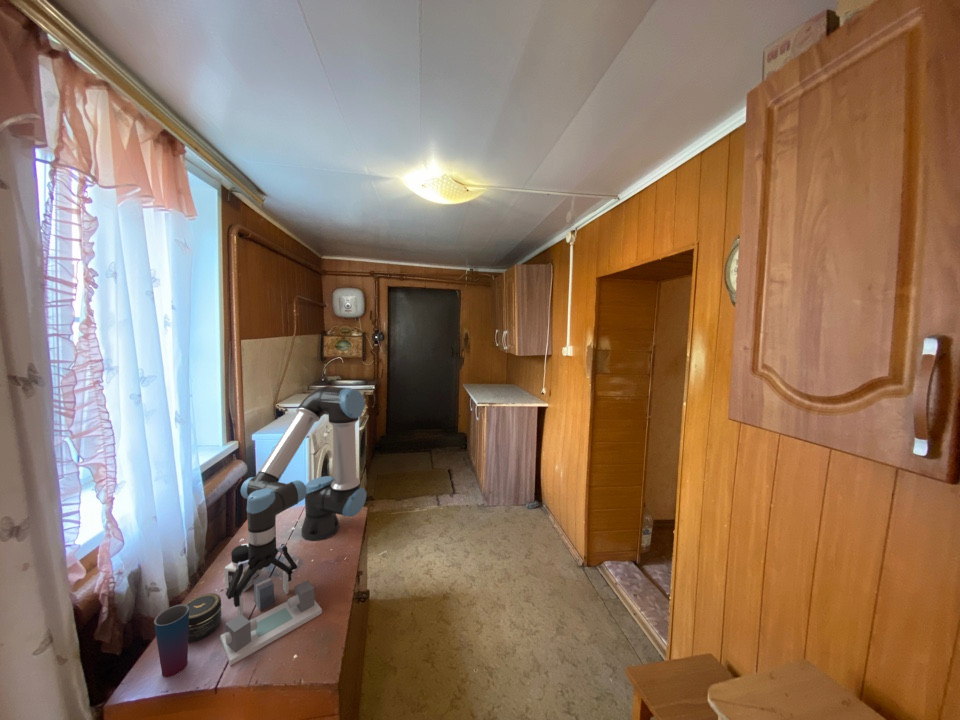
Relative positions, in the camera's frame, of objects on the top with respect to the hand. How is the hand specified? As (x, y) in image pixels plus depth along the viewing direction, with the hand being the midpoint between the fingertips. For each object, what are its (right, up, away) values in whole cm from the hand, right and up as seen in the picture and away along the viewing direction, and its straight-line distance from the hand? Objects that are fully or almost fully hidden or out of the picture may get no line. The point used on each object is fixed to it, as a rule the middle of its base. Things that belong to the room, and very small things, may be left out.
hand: (264, 602), depth 114 cm
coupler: (0, 0, 0) cm, 0 cm away
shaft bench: (+8, -1, -9) cm, 12 cm away
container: (-12, +1, +9) cm, 15 cm away
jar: (-12, -1, -10) cm, 16 cm away
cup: (-10, -2, -22) cm, 24 cm away
